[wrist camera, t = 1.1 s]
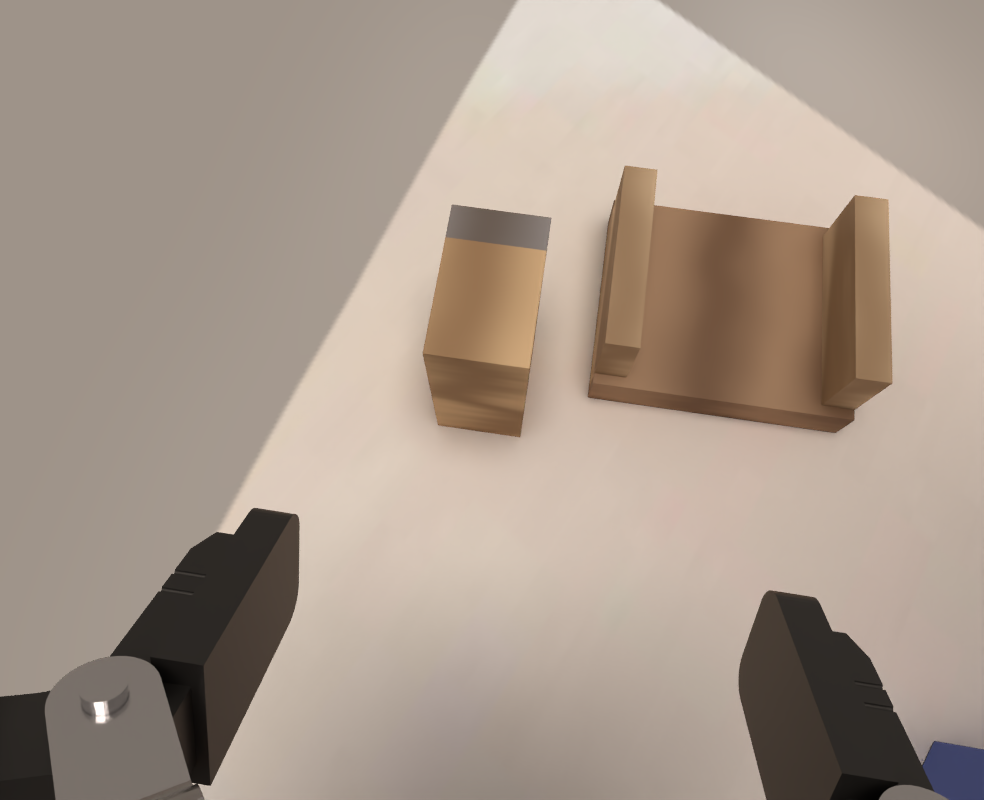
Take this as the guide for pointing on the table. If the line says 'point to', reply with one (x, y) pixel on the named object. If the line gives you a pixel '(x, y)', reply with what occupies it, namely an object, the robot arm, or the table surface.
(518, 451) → the table surface
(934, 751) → the walkman
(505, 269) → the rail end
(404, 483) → the table surface
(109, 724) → the robot arm
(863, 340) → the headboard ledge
